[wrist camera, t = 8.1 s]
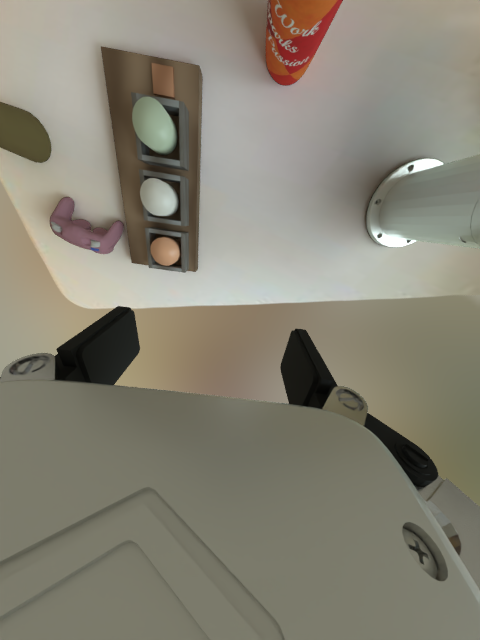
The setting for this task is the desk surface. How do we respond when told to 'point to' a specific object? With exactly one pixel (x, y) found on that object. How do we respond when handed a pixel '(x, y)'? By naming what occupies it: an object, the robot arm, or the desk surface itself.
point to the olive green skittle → (23, 134)
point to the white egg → (159, 197)
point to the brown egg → (166, 250)
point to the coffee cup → (295, 35)
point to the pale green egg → (154, 125)
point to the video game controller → (83, 229)
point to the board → (143, 163)
